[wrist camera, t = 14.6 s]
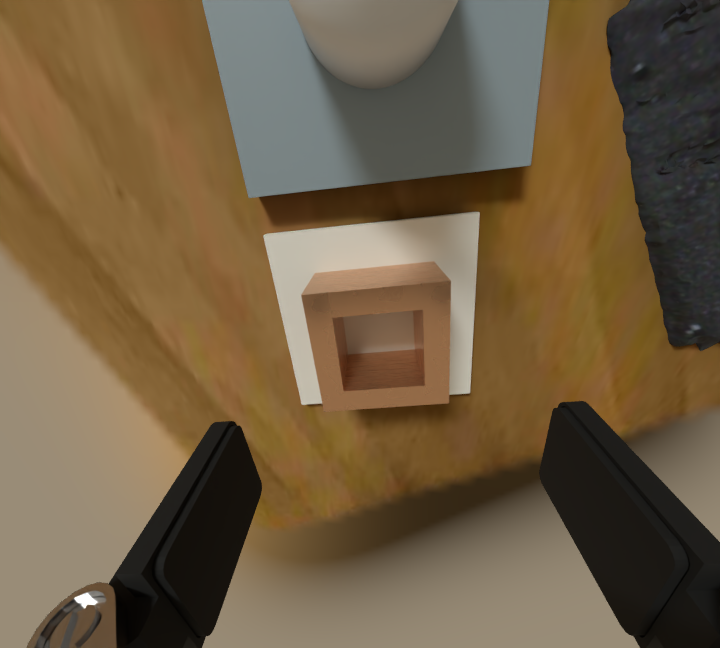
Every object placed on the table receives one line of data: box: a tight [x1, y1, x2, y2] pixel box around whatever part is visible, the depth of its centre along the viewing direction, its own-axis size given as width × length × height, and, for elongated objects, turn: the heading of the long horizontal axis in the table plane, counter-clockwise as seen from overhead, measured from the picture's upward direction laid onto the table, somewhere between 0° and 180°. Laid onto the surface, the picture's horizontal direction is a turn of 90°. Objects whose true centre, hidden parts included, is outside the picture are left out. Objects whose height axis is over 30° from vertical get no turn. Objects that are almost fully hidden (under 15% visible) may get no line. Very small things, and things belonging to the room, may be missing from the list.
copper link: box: [301, 261, 451, 412], centre depth 17 cm, size 7×7×4 cm
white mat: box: [263, 212, 480, 405], centre depth 20 cm, size 12×12×1 cm
